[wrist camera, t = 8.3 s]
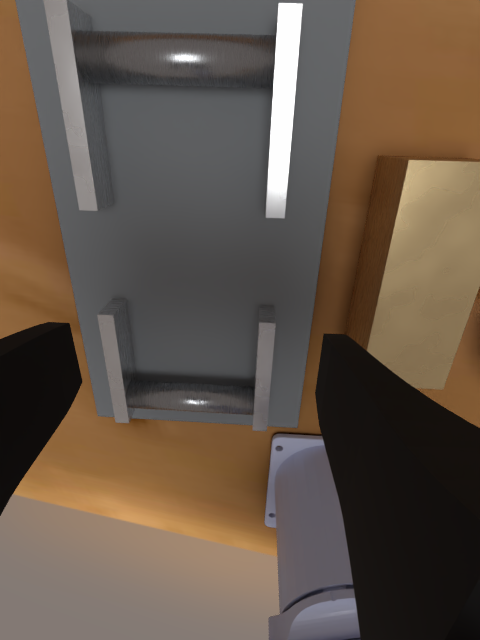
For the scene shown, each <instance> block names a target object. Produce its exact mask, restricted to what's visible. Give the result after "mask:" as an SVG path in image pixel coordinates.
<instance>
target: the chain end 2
mask: <svg viewBox="0 0 480 640" xmlns="http://www.w3.org/2000/svg"><path fill="white" fill-rule="evenodd" d="M97 316H98V322H99V328H100V334H101V340H102V346H103V351H104V357H105V363H106V369H107V375H108V381H109V387H110V392H111V398H112V404H113V410H114V416H115V422H119V423H129V422H130V420H131V418H132V416H133V414H134V412H135V409H136V408H139V409H156V410H173V411H191V412H208V413H225V414H243V415H253V430H254V431H267V421H268V409H269V397H270V385H271V373H272V362H273V350H274V338H275V326H276V321H275V309H274V306H260V305H259V320H258V337H257V354H256V370H255V387H251V386H233V385H215V384H197V383H178V382H160V381H142V380H137V376H136V368H135V361H134V353H133V345H132V337H131V329H130V321H129V313H128V305H127V299H113V298H112V299H111V300H110V301H109V302H108V304H107V305H106V306H105V307H104V308H103V309H102V310H101V311H100V312H99V313H98V314H97Z"/></svg>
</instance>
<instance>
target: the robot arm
mask: <svg viewBox="0 0 480 640" xmlns="http://www.w3.org/2000/svg"><path fill="white" fill-rule="evenodd" d="M81 384H82V378H81V373H80V369H79V364H78V360H77V355H76V351H75V346H74V342H73V337H72V333H71V328H70V324H69V323H55V322H48V323H44V324H40V325H37V326H34V327H31V328H28V329H25V330H22V331H20V332H17V333H15V334H12V335H9V336H7V337H4V338H2V339H0V515H1V514H2V512H3V510H4V508H5V506H6V505H7V503H8V501H9V499H10V497H11V496H12V494H13V493H14V491H15V489H16V488H17V486H18V485H19V483H20V481H21V480H22V478H23V477H24V475H25V474H26V473H27V471H28V470H29V468H30V467H31V465H32V464H33V462H34V461H35V460H36V458H37V457H38V455H39V454H40V452H41V451H42V449H43V448H44V446H45V445H46V444H47V442H48V441H49V439H50V438H51V436H52V435H53V433H54V432H55V430H56V429H57V427H58V426H59V424H60V423H61V421H62V420H63V419H64V417H65V415H66V414H67V412H68V411H69V409H70V407H71V405H72V403H73V401H74V399H75V397H76V395H77V393H78V390H79V388H80V386H81ZM315 395H316V403H317V412H318V419H319V425H320V429H321V433H322V436H312V435H295V434H276V435H274V436H273V438H272V446H271V456H270V467H269V477H268V488H267V498H266V509H265V525H266V526H268V527H273V528H276V532H277V556H278V579H279V580H278V581H279V605H280V614H279V615H276V616H271V617H269V640H480V428H478V427H477V426H475V425H473V424H471V423H469V422H468V421H466V420H464V419H463V418H461V417H459V416H457V415H456V414H454V413H452V412H451V411H449V410H447V409H446V408H444V407H442V406H441V405H439V404H438V403H436V402H435V401H433V400H431V399H430V398H428V397H427V396H425V395H424V394H423V393H421V392H420V391H418V390H417V389H415V388H414V387H413V386H411V385H410V384H408V383H407V382H406V381H404V380H403V379H402V378H400V377H399V376H398V375H396V374H395V373H394V372H392V371H391V370H390V369H388V368H387V367H386V366H385V365H383V364H382V363H381V362H380V361H378V360H377V359H376V358H375V357H374V356H372V355H371V354H370V353H369V352H368V351H366V350H365V349H364V348H363V347H362V346H360V345H359V344H358V343H357V342H355V341H354V340H353V339H352V338H350V337H349V336H347V335H344V334H324V336H323V343H322V350H321V357H320V364H319V371H318V378H317V385H316V392H315ZM277 446H281V447H277Z"/></svg>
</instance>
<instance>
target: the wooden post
mask: <svg viewBox="0 0 480 640" xmlns="http://www.w3.org/2000/svg"><path fill="white" fill-rule="evenodd" d="M479 287H480V159H470V158H441V157H408V156H378V158H377V164H376V169H375V175H374V180H373V185H372V191H371V196H370V202H369V207H368V213H367V218H366V224H365V229H364V234H363V240H362V245H361V251H360V256H359V262H358V267H357V272H356V278H355V283H354V289H353V294H352V300H351V305H350V311H349V316H348V321H347V327H346V332H345V335H347V336H349V337H350V338H352V339H353V340H354V341H355V342H357V343H358V344H359V345H360V346H362V347H363V348H364V349H365V350H366V351H368V352H369V353H370V354H371V355H372V356H374V357H375V358H376V359H377V360H378V361H380V362H381V363H382V364H383V365H385V366H386V367H387V368H388V369H390V370H391V371H392V372H394V373H395V374H396V375H398V376H399V377H400V378H402V379H403V380H404V381H406V382H407V383H408V384H410V385H411V386H413V387H414V388H427V389H443V388H444V385H445V382H446V380H447V377H448V374H449V371H450V368H451V365H452V363H453V360H454V357H455V354H456V351H457V349H458V346H459V343H460V340H461V337H462V335H463V332H464V329H465V326H466V323H467V320H468V318H469V315H470V312H471V309H472V306H473V304H474V301H475V298H476V295H477V292H478V290H479Z"/></svg>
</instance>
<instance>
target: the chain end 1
mask: <svg viewBox="0 0 480 640" xmlns="http://www.w3.org/2000/svg"><path fill="white" fill-rule="evenodd" d="M43 1H44V6H45V12H46V18H47V24H48V30H49V36H50V41H51V47H52V53H53V59H54V65H55V71H56V77H57V82H58V88H59V94H60V100H61V106H62V112H63V118H64V123H65V129H66V135H67V141H68V147H69V153H70V158H71V164H72V170H73V176H74V182H75V188H76V194H77V199H78V205H79V210H86V211H99V210H101V209H103V208H106V207H108V206H110V205H112V204H115V202H114V194H113V186H112V178H111V170H110V162H109V154H108V146H107V138H106V131H105V123H104V115H103V107H102V99H101V91H100V83H106V84H142V85H177V86H213V87H249V88H272V101H271V118H270V134H269V151H268V168H267V185H266V202H265V216H266V218H285V208H286V196H287V184H288V172H289V160H290V148H291V137H292V125H293V113H294V101H295V89H296V77H297V66H298V54H299V42H300V30H301V18H302V6H303V3H279V4H278V11H277V19H276V33H275V35H253V34H210V33H167V32H124V31H93V27H92V19H91V16H89V15H88V14H87V13H85V12H84V11H83V10H81V9H80V8H78V7H77V6H76V5H74V4H73V3H71V2H70V1H69V0H43Z"/></svg>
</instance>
